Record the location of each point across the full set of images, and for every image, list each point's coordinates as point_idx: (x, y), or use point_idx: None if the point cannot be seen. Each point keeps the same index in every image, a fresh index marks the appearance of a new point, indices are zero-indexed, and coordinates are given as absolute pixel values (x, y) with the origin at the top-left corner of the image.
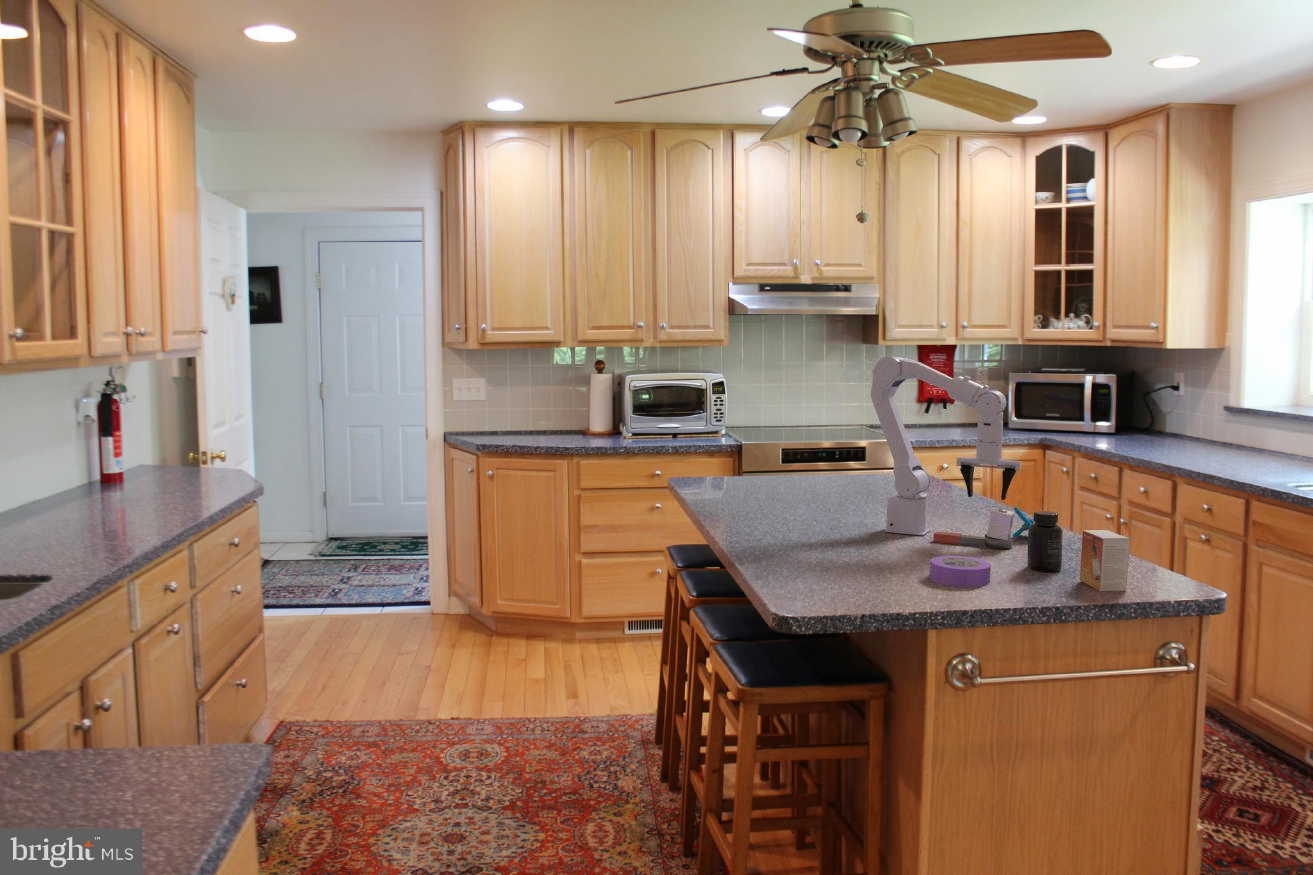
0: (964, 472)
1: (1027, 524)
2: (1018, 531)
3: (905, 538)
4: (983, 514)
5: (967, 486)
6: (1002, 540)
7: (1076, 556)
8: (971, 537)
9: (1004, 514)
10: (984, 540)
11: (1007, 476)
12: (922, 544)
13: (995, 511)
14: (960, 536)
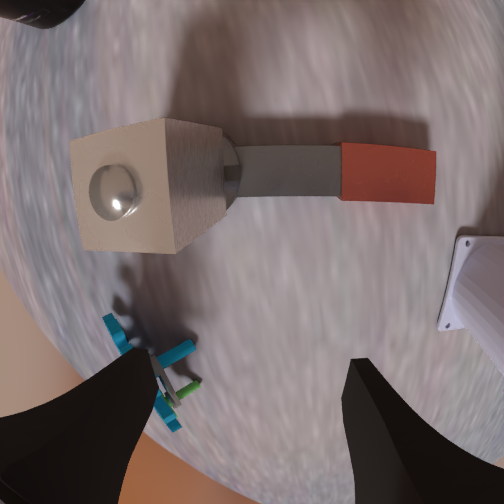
0: (480, 482)
1: (115, 324)
2: (173, 353)
3: (491, 177)
4: (309, 489)
5: (398, 401)
6: None
7: (19, 177)
8: (293, 155)
9: (99, 132)
10: (237, 147)
11: (5, 430)
12: (439, 98)
13: (141, 134)
14: (339, 155)
